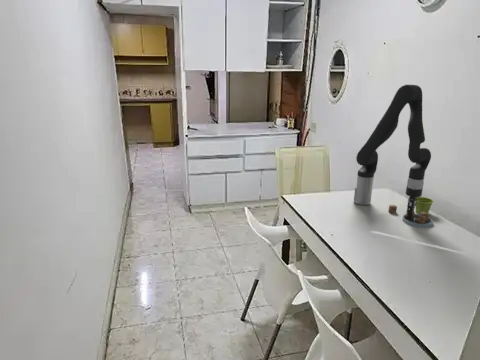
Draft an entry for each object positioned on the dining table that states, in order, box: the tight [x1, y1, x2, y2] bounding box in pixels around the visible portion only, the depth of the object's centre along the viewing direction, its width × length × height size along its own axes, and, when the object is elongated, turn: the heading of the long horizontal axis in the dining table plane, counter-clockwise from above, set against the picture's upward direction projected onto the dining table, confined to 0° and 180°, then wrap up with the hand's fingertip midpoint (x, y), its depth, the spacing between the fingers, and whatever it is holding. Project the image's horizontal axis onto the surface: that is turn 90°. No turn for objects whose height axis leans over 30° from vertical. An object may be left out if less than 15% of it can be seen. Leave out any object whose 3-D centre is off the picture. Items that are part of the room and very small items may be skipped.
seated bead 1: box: [416, 215, 426, 224], centre depth 177 cm, size 4×4×4 cm
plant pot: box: [415, 196, 435, 214], centre depth 191 cm, size 9×9×9 cm
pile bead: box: [388, 204, 398, 214], centre depth 193 cm, size 4×4×4 cm
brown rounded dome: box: [405, 211, 416, 222], centre depth 182 cm, size 4×4×4 cm
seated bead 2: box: [420, 212, 430, 223], centre depth 181 cm, size 4×4×4 cm
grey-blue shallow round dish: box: [402, 213, 434, 228], centre depth 181 cm, size 14×14×3 cm
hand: (409, 216), depth 182 cm, fingers open, 5 cm apart
